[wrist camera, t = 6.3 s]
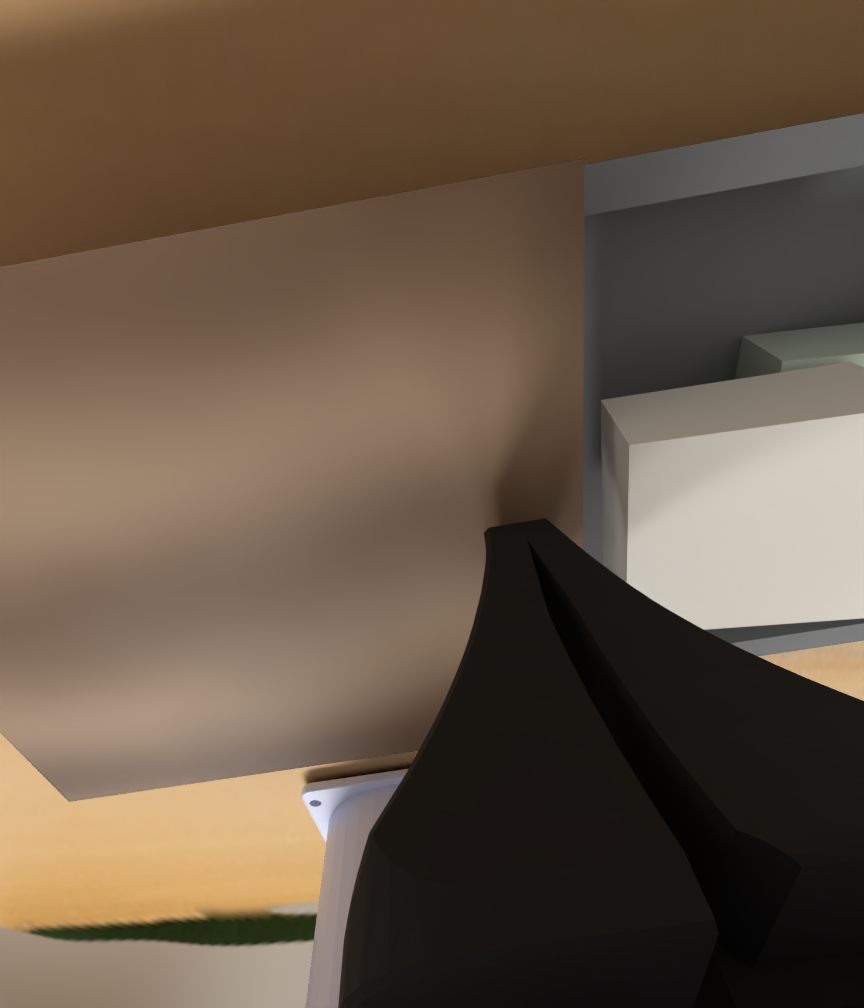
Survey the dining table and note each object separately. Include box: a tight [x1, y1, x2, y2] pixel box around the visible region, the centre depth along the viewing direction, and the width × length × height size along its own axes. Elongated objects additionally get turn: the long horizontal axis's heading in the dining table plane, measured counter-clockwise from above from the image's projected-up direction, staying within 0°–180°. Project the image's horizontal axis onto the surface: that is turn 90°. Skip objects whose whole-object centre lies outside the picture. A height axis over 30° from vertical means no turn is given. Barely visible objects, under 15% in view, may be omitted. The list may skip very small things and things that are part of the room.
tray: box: [583, 113, 864, 656], centre depth 13 cm, size 14×11×2 cm
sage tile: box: [735, 322, 864, 379], centre depth 12 cm, size 5×5×2 cm
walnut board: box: [0, 159, 584, 802], centre depth 13 cm, size 14×16×4 cm
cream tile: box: [601, 362, 864, 630], centre depth 11 cm, size 5×5×2 cm
